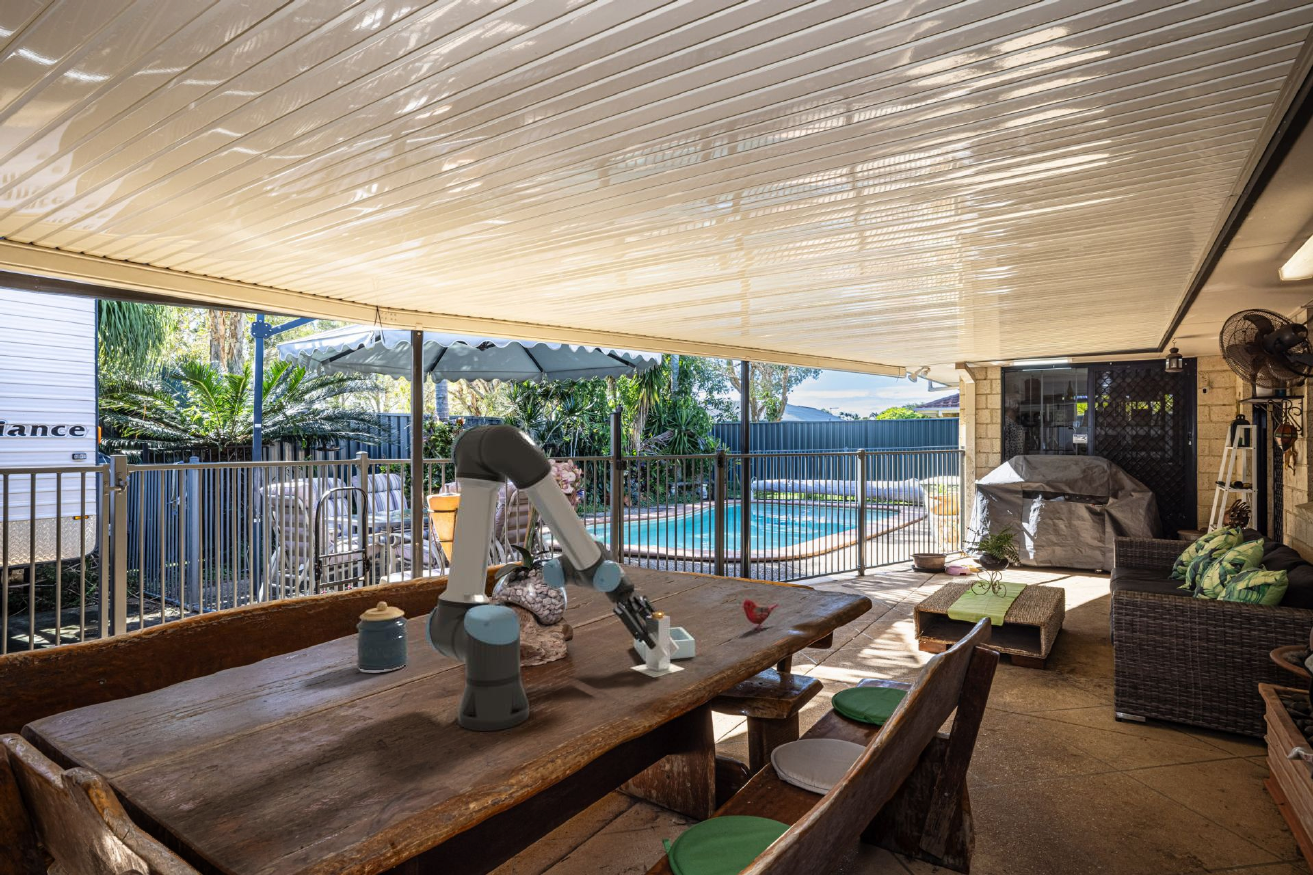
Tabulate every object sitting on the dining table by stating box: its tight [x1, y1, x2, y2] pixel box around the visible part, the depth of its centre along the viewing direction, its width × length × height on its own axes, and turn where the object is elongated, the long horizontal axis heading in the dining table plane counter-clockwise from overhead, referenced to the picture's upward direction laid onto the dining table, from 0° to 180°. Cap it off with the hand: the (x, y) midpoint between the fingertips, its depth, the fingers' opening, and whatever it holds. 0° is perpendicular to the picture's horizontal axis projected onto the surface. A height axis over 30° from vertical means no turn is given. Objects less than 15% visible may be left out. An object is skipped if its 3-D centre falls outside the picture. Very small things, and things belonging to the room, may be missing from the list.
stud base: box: [630, 663, 685, 678], centre depth 186 cm, size 10×10×6 cm
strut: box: [645, 611, 671, 671], centre depth 186 cm, size 4×4×14 cm
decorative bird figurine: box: [742, 599, 779, 630], centre depth 230 cm, size 3×18×10 cm, turn 132°
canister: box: [355, 601, 409, 670], centre depth 197 cm, size 13×13×18 cm
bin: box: [633, 626, 696, 662], centre depth 201 cm, size 14×14×6 cm
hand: (669, 654), depth 184 cm, fingers closed on strut, 5 cm apart
